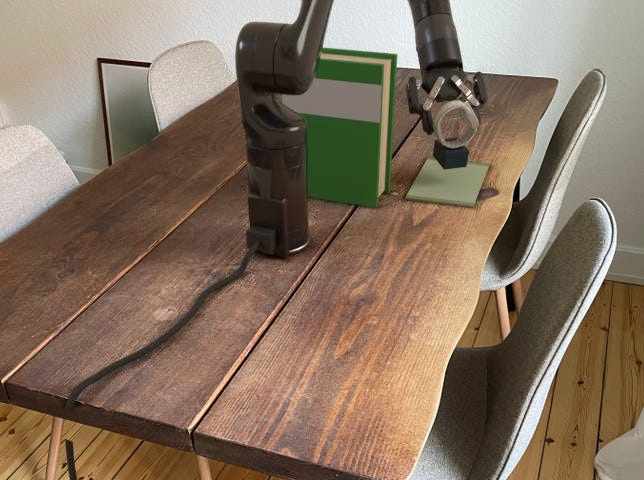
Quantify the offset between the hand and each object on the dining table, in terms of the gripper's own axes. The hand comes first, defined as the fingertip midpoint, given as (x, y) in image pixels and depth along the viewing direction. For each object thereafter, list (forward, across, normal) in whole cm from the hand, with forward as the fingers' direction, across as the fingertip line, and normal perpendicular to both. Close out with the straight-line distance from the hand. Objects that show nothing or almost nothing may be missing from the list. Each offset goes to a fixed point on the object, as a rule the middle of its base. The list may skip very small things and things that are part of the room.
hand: (453, 131), depth 135 cm
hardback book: (+7, -21, +7) cm, 23 cm away
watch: (+4, 0, +4) cm, 6 cm away
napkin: (+7, 0, +6) cm, 9 cm away
